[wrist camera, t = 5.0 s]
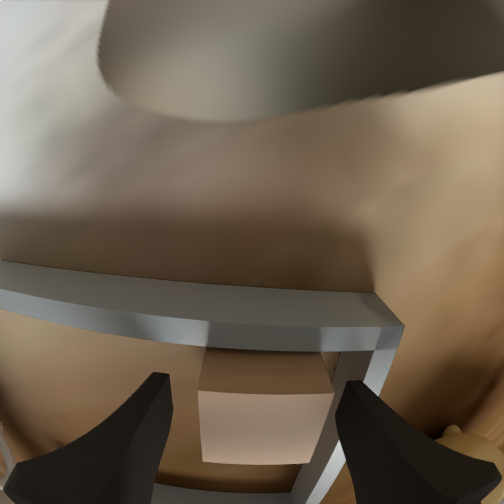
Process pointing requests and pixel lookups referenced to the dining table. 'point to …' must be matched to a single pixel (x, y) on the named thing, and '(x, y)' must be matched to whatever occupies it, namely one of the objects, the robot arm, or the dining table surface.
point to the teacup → (6, 457)
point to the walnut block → (262, 405)
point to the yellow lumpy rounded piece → (476, 454)
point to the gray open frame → (223, 340)
